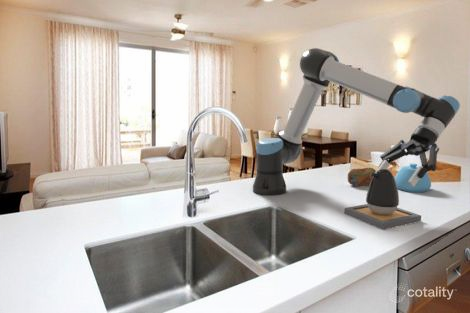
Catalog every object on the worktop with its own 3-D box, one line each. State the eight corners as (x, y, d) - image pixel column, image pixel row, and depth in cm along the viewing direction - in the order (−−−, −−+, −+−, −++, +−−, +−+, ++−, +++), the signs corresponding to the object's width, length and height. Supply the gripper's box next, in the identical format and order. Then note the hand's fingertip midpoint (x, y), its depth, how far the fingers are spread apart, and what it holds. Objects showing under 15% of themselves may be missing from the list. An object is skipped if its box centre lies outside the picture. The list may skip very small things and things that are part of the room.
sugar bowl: (397, 183, 159) (399, 160, 157) (433, 188, 149) (435, 163, 147) (389, 189, 147) (391, 164, 146) (427, 195, 138) (429, 168, 136)
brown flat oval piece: (350, 187, 152) (350, 169, 151) (346, 185, 155) (346, 168, 154) (377, 184, 156) (378, 167, 155) (372, 183, 159) (373, 166, 158)
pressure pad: (353, 212, 115) (353, 209, 114) (379, 207, 120) (380, 205, 119) (382, 224, 103) (382, 221, 103) (410, 218, 108) (411, 215, 108)
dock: (344, 213, 116) (344, 207, 115) (379, 206, 122) (379, 201, 122) (382, 229, 100) (383, 223, 100) (420, 221, 107) (421, 215, 107)
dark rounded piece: (358, 210, 114) (360, 167, 111) (379, 206, 118) (382, 165, 115) (382, 219, 104) (385, 173, 102) (404, 214, 109) (408, 170, 106)
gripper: (468, 144, 104) (432, 195, 100) (401, 137, 126) (370, 179, 123) (459, 128, 101) (422, 180, 97) (392, 124, 123) (359, 166, 120)
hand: (392, 180), depth 110 cm, fingers open, 13 cm apart
